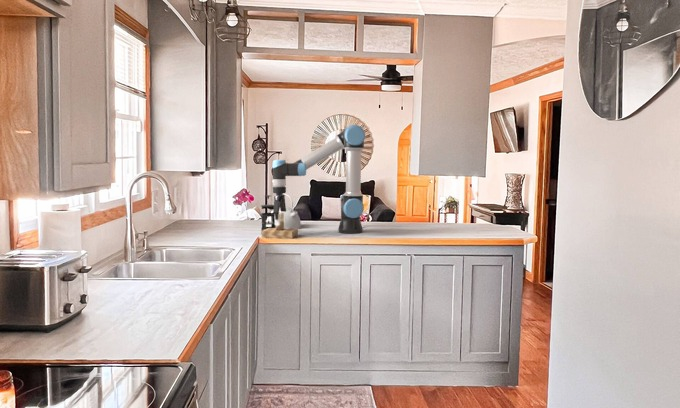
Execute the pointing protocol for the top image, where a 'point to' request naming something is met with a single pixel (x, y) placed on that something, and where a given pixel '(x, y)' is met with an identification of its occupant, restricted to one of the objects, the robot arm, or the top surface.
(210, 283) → the top surface
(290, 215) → the kettle
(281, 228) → the peg
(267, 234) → the board
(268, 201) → the french press
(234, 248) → the top surface
